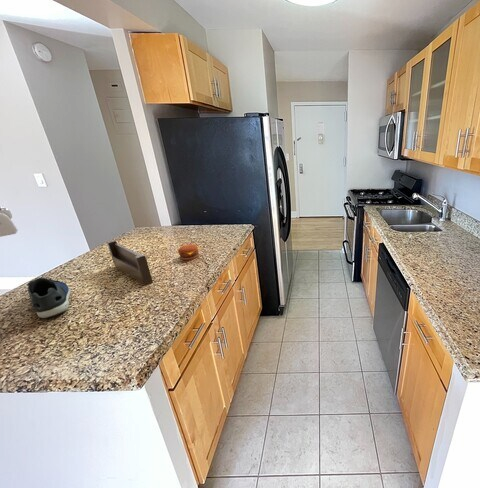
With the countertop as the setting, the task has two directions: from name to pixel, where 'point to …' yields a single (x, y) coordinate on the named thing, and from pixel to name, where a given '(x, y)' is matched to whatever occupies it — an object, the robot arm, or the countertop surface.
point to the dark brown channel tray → (130, 262)
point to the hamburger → (188, 252)
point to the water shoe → (48, 297)
